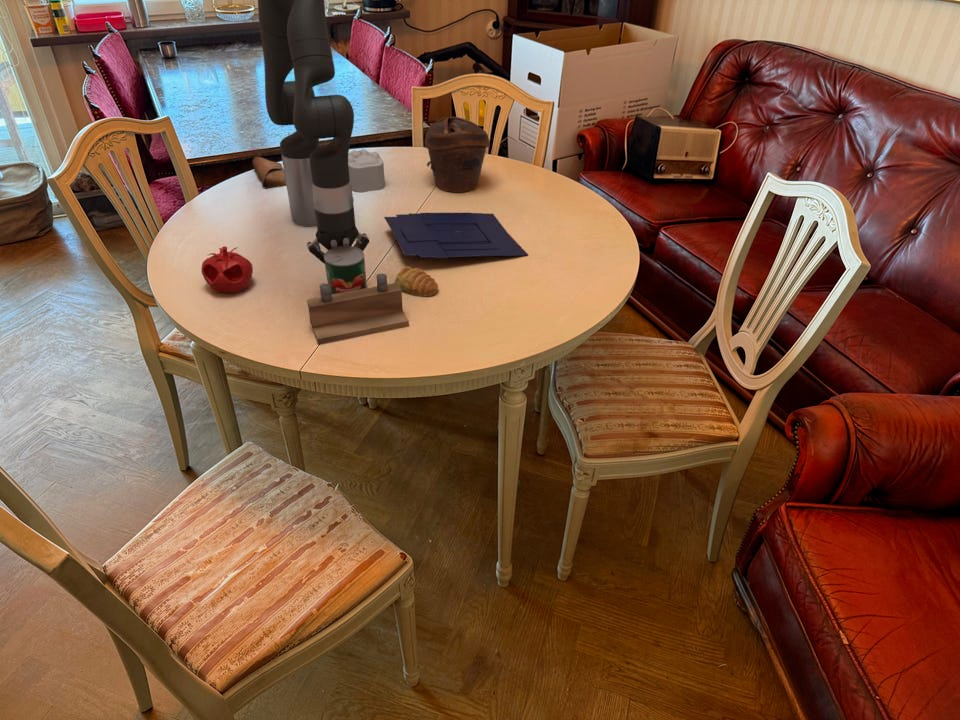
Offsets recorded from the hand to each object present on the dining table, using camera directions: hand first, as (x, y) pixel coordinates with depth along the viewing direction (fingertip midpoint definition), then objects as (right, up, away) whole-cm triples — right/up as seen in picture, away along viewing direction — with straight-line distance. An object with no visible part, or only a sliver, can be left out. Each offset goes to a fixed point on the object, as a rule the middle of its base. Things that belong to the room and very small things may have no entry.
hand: (342, 279), depth 132 cm
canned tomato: (+2, -5, -2) cm, 6 cm away
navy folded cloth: (+23, +12, +21) cm, 33 cm away
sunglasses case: (-32, +36, +50) cm, 69 cm away
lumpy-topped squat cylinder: (-4, +34, +48) cm, 59 cm away
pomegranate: (-24, -1, +2) cm, 24 cm away
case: (+22, +34, +50) cm, 64 cm away
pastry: (+15, -1, +4) cm, 16 cm away
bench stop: (+5, -10, -8) cm, 14 cm away
